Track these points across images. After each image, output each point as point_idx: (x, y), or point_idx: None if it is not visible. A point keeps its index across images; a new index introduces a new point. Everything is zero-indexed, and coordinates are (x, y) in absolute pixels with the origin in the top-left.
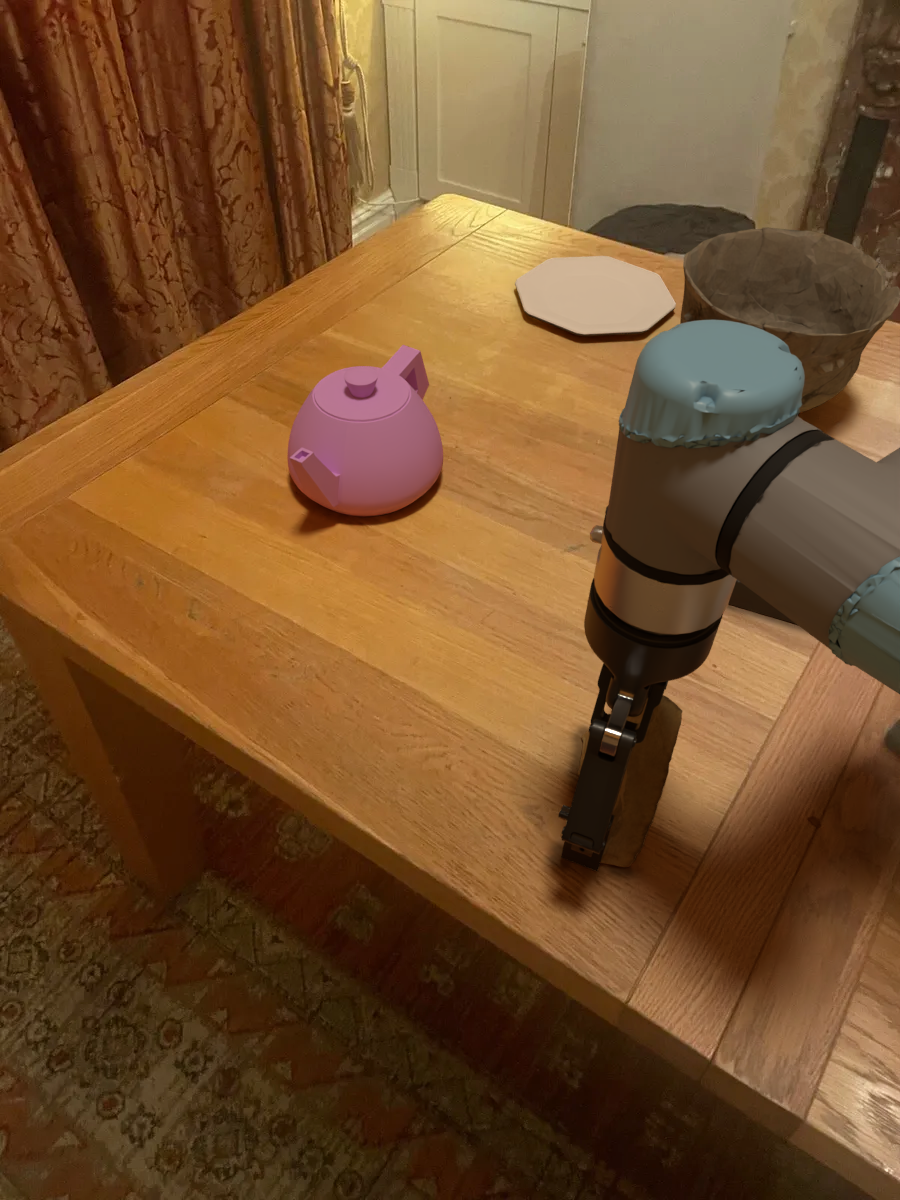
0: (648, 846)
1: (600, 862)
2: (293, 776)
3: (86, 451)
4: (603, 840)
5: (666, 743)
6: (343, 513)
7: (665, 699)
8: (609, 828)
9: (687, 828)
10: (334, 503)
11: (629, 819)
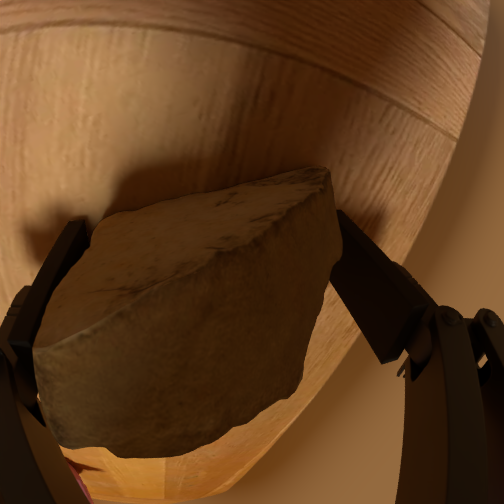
0: (268, 141)
1: (338, 215)
2: (289, 425)
3: (135, 500)
4: (493, 325)
5: (189, 315)
6: (68, 463)
7: (66, 436)
8: (457, 315)
9: (205, 83)
10: (78, 482)
11: (335, 235)
